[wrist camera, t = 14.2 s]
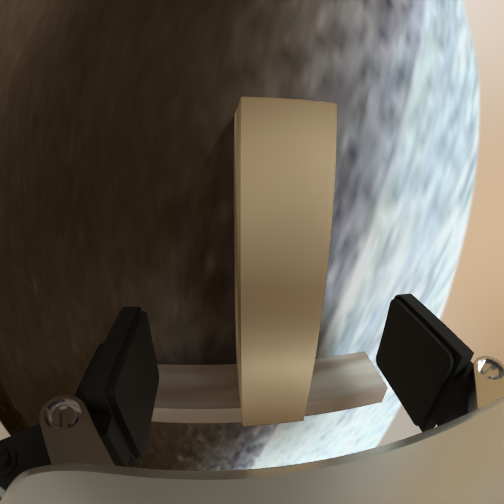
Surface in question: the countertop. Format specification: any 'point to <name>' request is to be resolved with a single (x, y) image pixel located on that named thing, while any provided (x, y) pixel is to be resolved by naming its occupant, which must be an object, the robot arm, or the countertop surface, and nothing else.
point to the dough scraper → (276, 281)
